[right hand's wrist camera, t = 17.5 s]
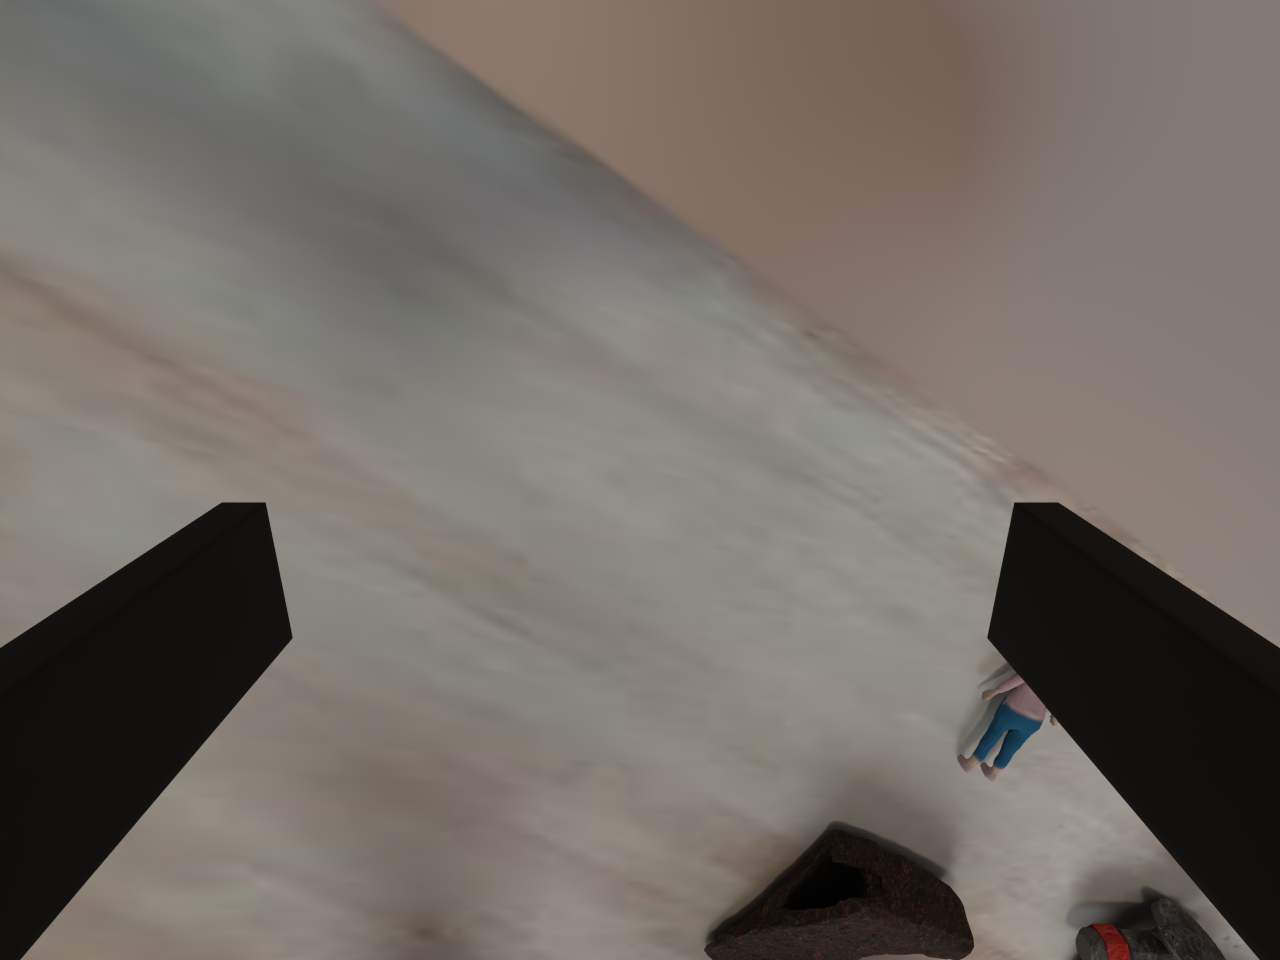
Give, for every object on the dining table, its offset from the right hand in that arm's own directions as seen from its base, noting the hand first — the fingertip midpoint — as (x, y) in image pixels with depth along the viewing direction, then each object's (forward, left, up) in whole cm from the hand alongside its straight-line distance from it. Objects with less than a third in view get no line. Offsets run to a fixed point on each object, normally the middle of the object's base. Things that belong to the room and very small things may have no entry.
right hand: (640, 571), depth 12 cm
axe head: (+48, +15, -31) cm, 59 cm away
